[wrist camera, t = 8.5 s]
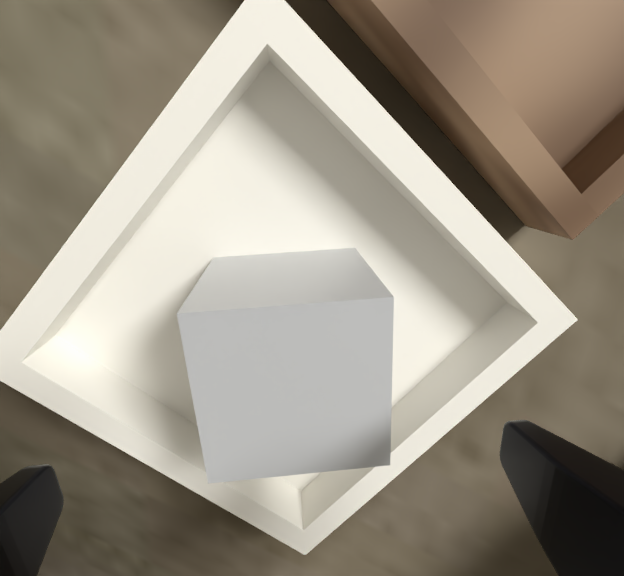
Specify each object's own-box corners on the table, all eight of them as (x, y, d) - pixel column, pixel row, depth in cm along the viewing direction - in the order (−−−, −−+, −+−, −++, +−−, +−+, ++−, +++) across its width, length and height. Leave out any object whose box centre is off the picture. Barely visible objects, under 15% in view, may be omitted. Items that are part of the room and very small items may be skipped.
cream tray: (532, 294, 15) (577, 319, 13) (301, 503, 18) (305, 555, 16) (266, 12, 12) (262, -24, 9) (24, 331, 14) (-26, 366, 12)
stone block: (354, 247, 14) (394, 296, 9) (356, 369, 15) (390, 465, 11) (213, 257, 13) (176, 313, 9) (231, 380, 15) (208, 483, 10)
